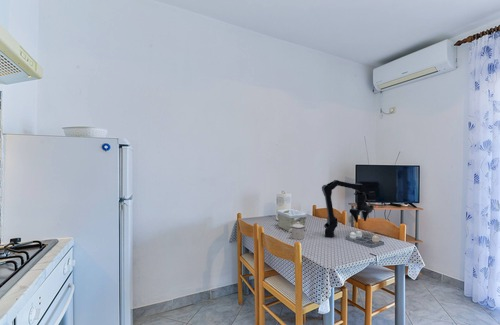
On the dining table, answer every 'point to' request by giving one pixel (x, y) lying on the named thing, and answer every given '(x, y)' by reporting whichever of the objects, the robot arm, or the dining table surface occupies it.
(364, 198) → the robot arm
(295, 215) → the storage basket
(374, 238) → the brown egg
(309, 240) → the dining table surface
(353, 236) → the cream egg
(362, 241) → the egg tray
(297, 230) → the teacup with lid
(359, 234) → the cream egg
